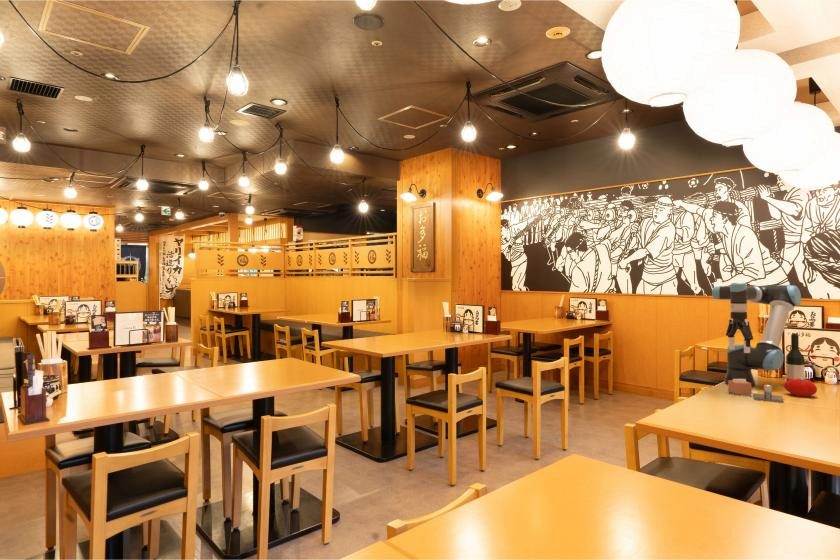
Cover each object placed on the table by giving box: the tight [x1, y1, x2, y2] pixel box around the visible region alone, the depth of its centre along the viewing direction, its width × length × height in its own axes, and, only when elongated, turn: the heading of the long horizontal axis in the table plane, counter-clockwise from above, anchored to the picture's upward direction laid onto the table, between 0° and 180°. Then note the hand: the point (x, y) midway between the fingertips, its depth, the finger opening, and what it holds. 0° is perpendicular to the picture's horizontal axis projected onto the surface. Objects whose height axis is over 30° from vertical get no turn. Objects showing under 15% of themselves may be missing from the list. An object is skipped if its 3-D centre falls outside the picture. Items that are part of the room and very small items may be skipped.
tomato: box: [783, 379, 818, 397], centre depth 258 cm, size 14×13×9 cm
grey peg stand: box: [752, 384, 785, 404], centre depth 251 cm, size 12×12×7 cm
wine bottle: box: [785, 332, 806, 381], centre depth 282 cm, size 8×8×30 cm
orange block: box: [727, 379, 752, 395], centre depth 264 cm, size 8×8×7 cm
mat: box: [728, 391, 752, 397], centre depth 264 cm, size 10×10×1 cm
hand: (739, 351), depth 264 cm, fingers open, 13 cm apart
